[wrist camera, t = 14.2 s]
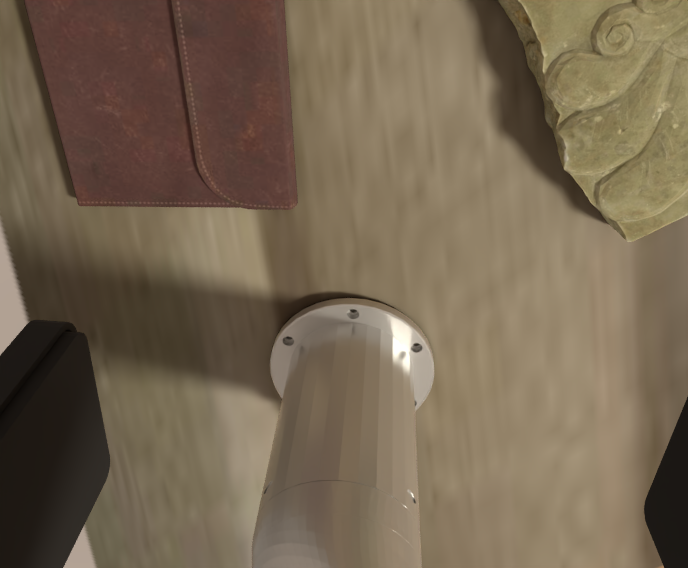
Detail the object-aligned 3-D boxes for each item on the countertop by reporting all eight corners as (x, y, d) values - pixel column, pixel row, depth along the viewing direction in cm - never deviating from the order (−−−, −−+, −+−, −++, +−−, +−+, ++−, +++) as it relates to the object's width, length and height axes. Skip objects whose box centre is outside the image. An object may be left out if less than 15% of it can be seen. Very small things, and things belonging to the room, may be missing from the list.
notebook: (84, 196, 45) (72, 208, 43) (-5, -146, 34) (-26, -147, 33) (299, 197, 44) (295, 210, 42) (276, -155, 33) (269, -156, 32)
